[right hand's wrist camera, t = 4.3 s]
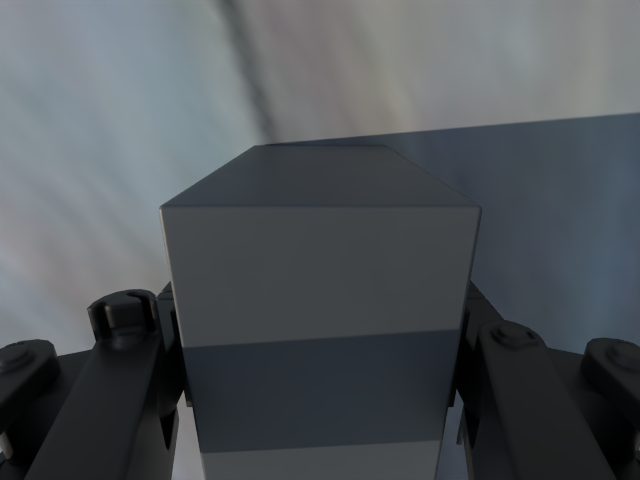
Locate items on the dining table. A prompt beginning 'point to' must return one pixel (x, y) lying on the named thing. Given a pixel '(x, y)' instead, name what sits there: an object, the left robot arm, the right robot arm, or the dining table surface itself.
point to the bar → (320, 311)
